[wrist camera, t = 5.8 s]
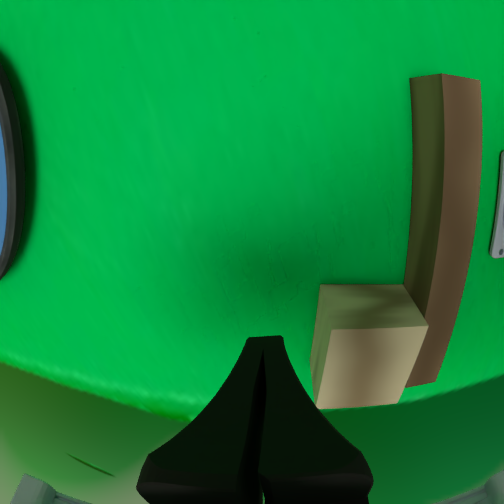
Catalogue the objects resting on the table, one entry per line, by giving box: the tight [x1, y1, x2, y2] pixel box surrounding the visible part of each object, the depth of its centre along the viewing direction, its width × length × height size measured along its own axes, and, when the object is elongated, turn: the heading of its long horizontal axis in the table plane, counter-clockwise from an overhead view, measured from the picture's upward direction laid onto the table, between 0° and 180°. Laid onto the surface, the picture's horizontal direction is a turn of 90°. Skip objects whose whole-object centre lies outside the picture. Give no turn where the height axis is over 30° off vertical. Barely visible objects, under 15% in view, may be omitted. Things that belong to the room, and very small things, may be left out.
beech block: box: [310, 284, 429, 409], centre depth 20 cm, size 6×7×5 cm
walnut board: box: [403, 74, 482, 388], centre depth 17 cm, size 2×20×4 cm, turn 5°
